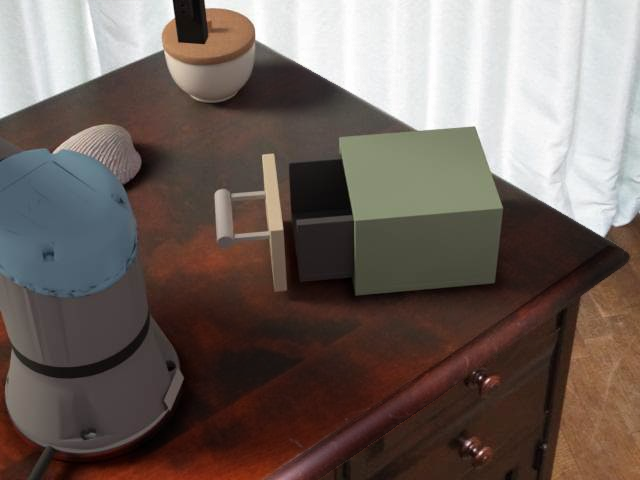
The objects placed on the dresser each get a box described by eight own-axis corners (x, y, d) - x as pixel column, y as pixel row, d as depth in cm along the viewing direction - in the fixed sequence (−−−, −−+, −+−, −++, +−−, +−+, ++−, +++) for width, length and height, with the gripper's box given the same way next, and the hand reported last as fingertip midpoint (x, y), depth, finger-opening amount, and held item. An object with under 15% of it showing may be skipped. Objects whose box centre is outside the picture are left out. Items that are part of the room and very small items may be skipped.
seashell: (162, 135, 125) (94, 165, 117) (159, 178, 128) (93, 211, 120) (95, 101, 129) (26, 129, 122) (94, 144, 132) (27, 173, 125)
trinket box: (256, 114, 132) (251, 44, 126) (163, 114, 133) (154, 45, 126) (261, 62, 140) (256, -6, 134) (173, 63, 141) (165, -5, 134)
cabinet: (355, 295, 110) (355, 220, 104) (340, 210, 120) (339, 137, 113) (494, 283, 111) (503, 208, 105) (469, 199, 120) (475, 125, 114)
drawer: (222, 296, 109) (215, 235, 104) (217, 218, 118) (211, 158, 112) (404, 280, 110) (406, 219, 105) (386, 204, 119) (388, 143, 114)
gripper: (186, -164, 92) (214, 80, 108) (224, -227, 101) (245, 6, 117) (96, -168, 93) (137, 74, 109) (143, -230, 102) (174, 2, 118)
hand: (193, 39), depth 113 cm, fingers closed
